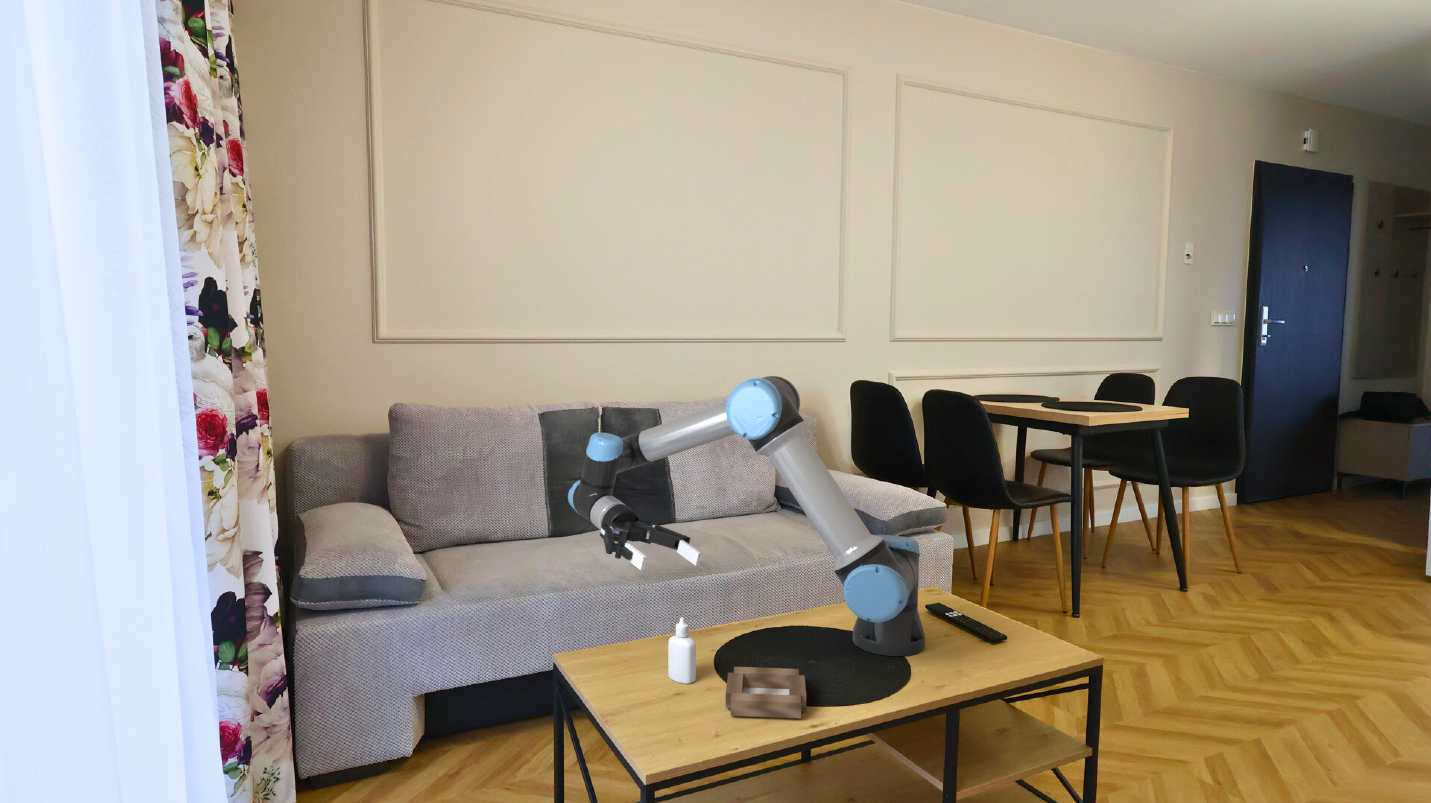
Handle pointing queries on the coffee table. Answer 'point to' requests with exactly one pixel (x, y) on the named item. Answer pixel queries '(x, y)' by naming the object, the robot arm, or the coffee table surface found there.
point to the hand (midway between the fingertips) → (672, 561)
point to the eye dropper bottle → (682, 655)
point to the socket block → (766, 692)
